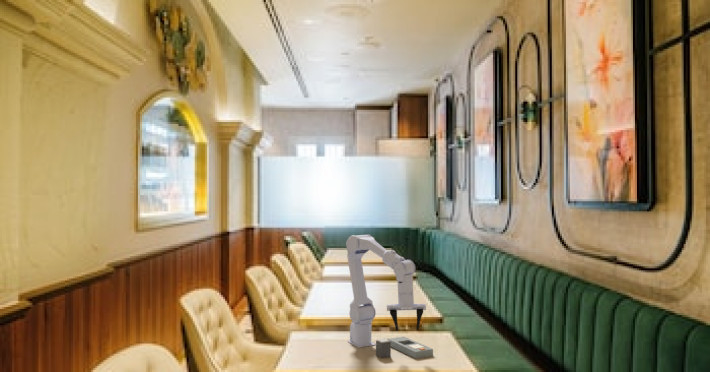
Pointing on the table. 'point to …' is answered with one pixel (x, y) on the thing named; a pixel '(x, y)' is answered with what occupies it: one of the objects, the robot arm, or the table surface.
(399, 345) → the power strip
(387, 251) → the robot arm
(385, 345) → the plug block
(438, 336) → the table surface
